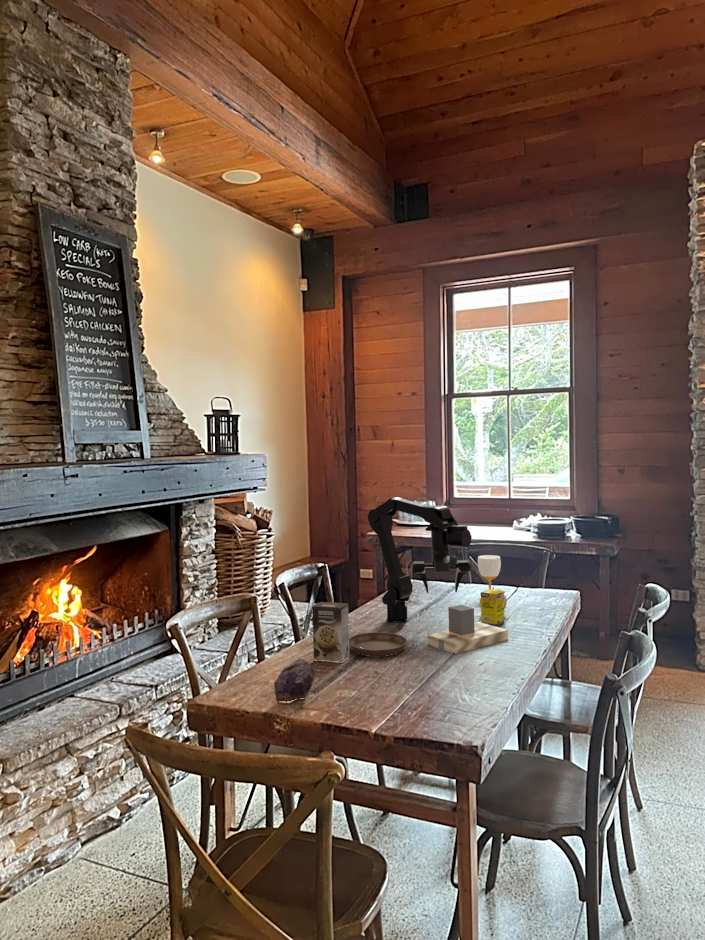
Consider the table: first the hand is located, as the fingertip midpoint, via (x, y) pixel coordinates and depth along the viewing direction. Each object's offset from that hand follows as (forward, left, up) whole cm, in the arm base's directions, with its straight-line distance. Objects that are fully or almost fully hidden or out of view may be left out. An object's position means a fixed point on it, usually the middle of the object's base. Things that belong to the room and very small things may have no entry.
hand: (441, 592), depth 236 cm
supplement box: (+17, +5, -12) cm, 22 cm away
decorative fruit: (+19, +15, -12) cm, 27 cm away
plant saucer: (-21, -21, -12) cm, 32 cm away
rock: (-40, -60, -12) cm, 73 cm away
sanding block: (+5, -17, -9) cm, 20 cm away
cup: (+21, +41, -12) cm, 48 cm away
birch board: (+7, -16, -12) cm, 21 cm away
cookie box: (-34, -30, -12) cm, 47 cm away
